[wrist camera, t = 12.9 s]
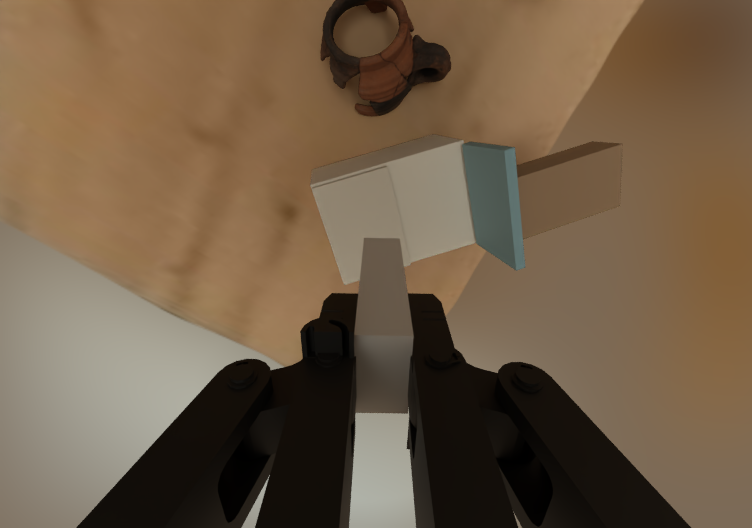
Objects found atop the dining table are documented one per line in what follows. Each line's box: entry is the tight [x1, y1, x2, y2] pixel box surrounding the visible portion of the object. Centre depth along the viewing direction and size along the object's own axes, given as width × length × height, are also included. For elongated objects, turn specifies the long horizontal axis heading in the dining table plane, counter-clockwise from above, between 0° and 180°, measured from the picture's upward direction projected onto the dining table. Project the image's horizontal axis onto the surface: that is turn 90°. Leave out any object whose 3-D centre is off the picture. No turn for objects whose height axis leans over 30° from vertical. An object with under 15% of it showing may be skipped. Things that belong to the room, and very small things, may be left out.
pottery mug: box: [321, 0, 451, 116], centre depth 34 cm, size 12×10×8 cm
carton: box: [310, 134, 476, 285], centre depth 37 cm, size 14×10×10 cm
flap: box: [462, 142, 623, 270], centre depth 30 cm, size 7×10×10 cm
